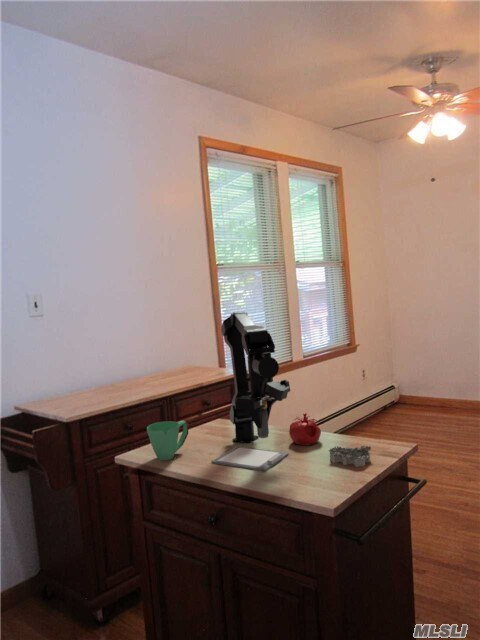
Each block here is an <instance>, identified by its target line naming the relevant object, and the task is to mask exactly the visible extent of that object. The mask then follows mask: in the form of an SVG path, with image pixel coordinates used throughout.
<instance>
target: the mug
mask: <svg viewBox="0 0 480 640" xmlns="http://www.w3.org/2000/svg"><path fill="white" fill-rule="evenodd" d="M180 427H182V432H181V435H180V437H179V432H180ZM146 433H147V435H148V438H149V441H150V444H151V447H152V450H153V452H154V454H155V456H156V457H157V460H158V459H159V460H158V461H169V460H172V459H173V458H174V457H175V454H176V452H177V451H178V450H180V449H181V448H182V446H183V445H184V443H185V442H186V439H187V437H188V435H189V424H188V423H187V422H186V420H180V421H172V420H171V421H167V420H166V421H160V422H154V423H152V424H149V425H148V426H147V427H146Z"/></svg>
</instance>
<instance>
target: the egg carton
mask: <svg viewBox="0 0 480 640" xmlns="http://www.w3.org/2000/svg"><path fill="white" fill-rule="evenodd" d="M371 449H372V447H371V446H368V445H366V446H365V445H362V446H360V447H357V446H355V447H349V446H347V447H342V446H338V445H337V446H336V445H335V446H334V447H332V448H330V449H327V451H329V460H330V461H331V463H332V462H333V463H334V464H335V463H342V465H345V466H347V464H348V465H353V464H354V465H353V466H354V467H355V466H356V468H359V467H364V465H365V466H366V463H370V462H371V455H370V454H371V453H370V451H371ZM369 461H370V462H369Z"/></svg>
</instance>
